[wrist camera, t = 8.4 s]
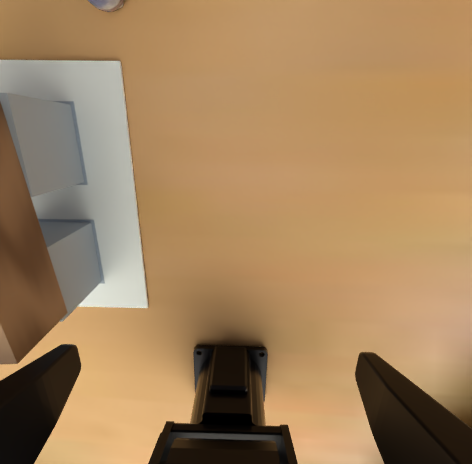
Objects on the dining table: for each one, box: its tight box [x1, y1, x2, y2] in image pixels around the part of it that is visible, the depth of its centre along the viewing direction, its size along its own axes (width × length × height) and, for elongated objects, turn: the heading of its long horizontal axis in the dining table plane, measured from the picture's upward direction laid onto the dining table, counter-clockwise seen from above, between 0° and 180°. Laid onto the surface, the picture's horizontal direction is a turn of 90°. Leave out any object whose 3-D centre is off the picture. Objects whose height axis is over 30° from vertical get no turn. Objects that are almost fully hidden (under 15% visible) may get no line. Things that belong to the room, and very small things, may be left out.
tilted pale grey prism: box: [0, 93, 84, 197], centre depth 16 cm, size 5×5×5 cm
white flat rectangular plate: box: [0, 60, 149, 308], centre depth 20 cm, size 18×12×1 cm, turn 179°
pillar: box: [39, 222, 101, 321], centre depth 19 cm, size 5×5×5 cm
